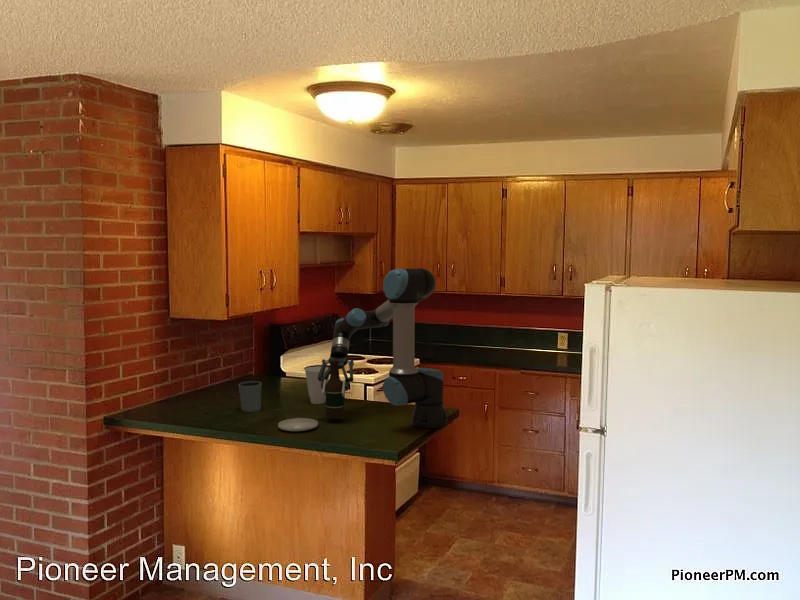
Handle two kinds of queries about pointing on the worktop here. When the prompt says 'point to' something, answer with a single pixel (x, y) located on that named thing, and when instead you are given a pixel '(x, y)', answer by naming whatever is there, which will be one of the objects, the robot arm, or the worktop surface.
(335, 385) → the beer bottle
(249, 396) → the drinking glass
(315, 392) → the cup
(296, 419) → the dish
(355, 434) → the worktop surface
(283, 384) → the worktop surface
